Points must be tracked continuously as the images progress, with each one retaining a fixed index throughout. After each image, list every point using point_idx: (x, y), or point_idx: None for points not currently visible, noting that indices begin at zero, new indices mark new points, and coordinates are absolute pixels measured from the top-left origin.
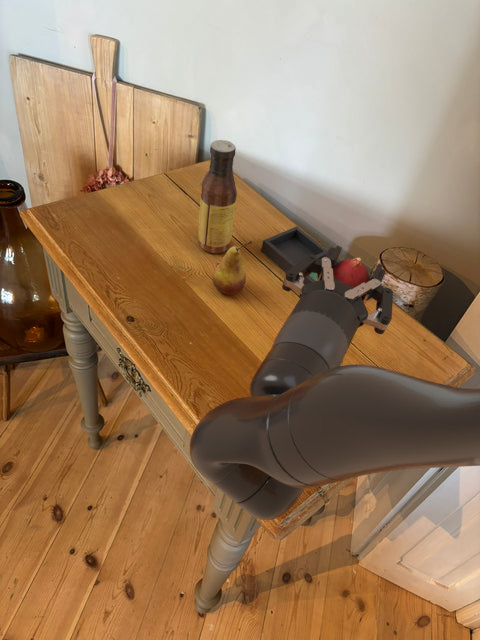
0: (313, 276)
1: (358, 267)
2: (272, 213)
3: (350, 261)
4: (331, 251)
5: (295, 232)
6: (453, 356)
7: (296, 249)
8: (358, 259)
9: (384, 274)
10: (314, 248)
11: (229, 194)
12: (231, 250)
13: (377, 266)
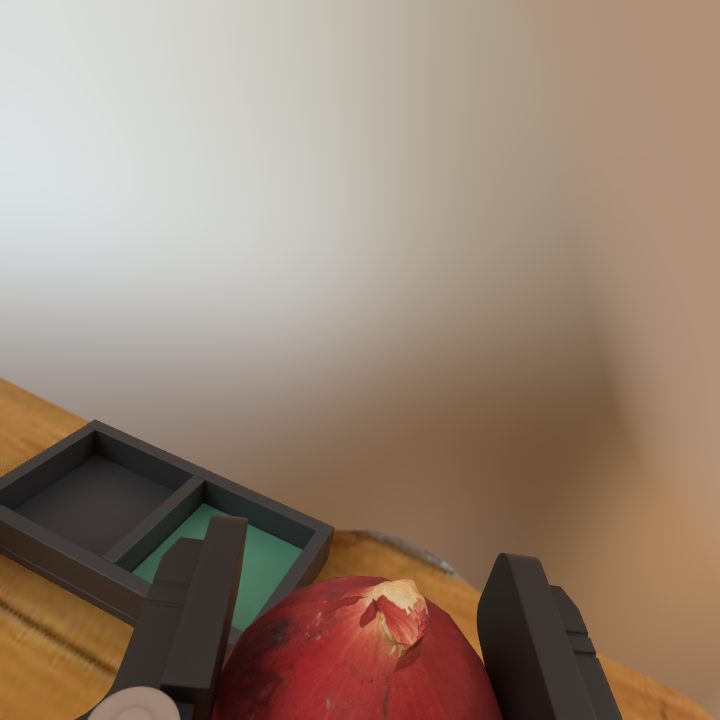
0: None
1: (420, 660)
2: (23, 399)
3: (344, 630)
4: (178, 578)
5: (94, 439)
6: (674, 692)
7: (106, 491)
8: (407, 604)
9: (584, 628)
10: (163, 472)
11: None
12: None
13: (520, 586)
